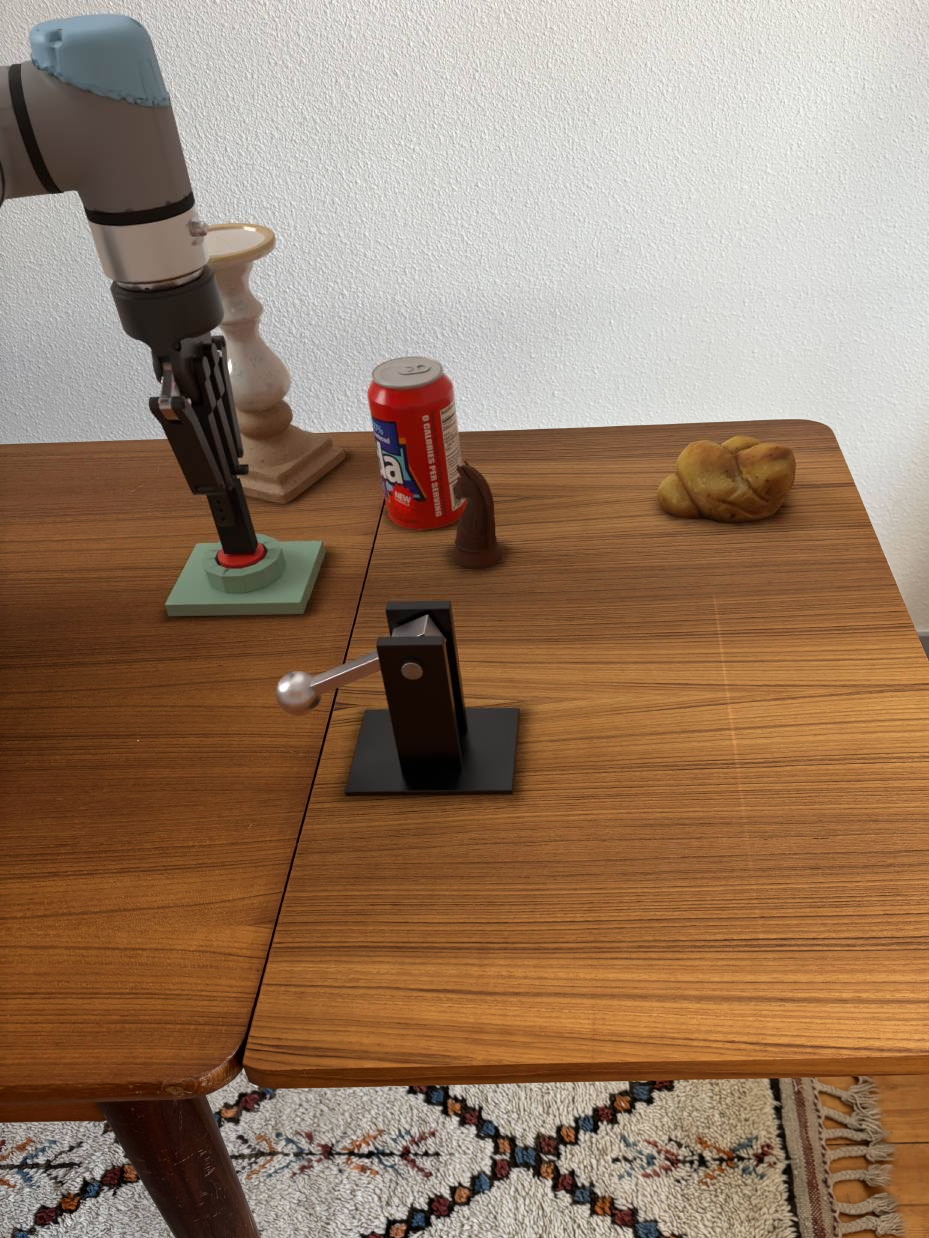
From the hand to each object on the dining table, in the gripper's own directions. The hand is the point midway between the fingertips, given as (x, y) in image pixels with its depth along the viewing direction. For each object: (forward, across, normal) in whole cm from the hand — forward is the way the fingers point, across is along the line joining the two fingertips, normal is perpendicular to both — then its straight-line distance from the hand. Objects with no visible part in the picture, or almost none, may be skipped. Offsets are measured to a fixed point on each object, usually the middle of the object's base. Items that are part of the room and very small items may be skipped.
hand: (241, 548), depth 93 cm
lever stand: (+5, -23, -20) cm, 30 cm away
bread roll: (+5, +13, -44) cm, 46 cm away
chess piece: (+5, +4, -20) cm, 21 cm away
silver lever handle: (-3, -23, -16) cm, 28 cm away
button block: (+5, 0, 0) cm, 5 cm away
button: (+2, 0, 0) cm, 2 cm away
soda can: (+5, +13, -15) cm, 20 cm away
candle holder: (+5, +21, +3) cm, 22 cm away
